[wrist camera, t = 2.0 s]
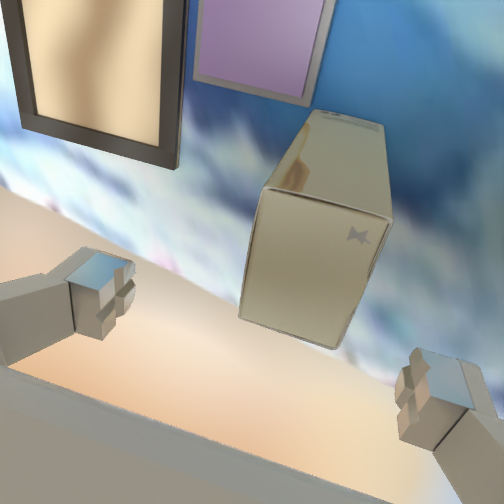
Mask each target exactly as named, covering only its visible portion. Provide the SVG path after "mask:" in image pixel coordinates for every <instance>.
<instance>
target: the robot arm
mask: <svg viewBox="0 0 504 504" xmlns="http://www.w3.org/2000/svg"><path fill="white" fill-rule="evenodd" d="M134 274H135V263H134V262H133V261H131V260H127V259H124V258H121V257H118V256H116V255H112V254H109V253H107V252H103V251H100V250H96V249H93V248H90V247H82V248H80V249H79V250H78V251H76V252H75V253H74V254H72V255H71V256H70V257H68V258H67V259H66V260H65V261H63V262H62V263H61V264H59V265H58V266H57V267H56V268H54V269H53V270H51V271H50V272H49V273H47V274H46V275H45V274H42V273H40V274H36V275H32V276H28V277H24V278H20V279H16V280H12V281H8V282H4V283H0V504H392V503H390V502H387V501H384V500H381V499H378V498H375V497H372V496H370V495H367V494H364V493H361V492H358V491H356V490H353V489H350V488H347V487H344V486H341V485H339V484H336V483H333V482H330V481H327V480H324V479H321V478H318V477H316V476H313V475H310V474H307V473H304V472H302V471H298V470H296V469H293V468H290V467H287V466H284V465H282V464H279V463H276V462H273V461H270V460H268V459H265V458H262V457H259V456H256V455H253V454H251V453H248V452H245V451H242V450H239V449H237V448H234V447H231V446H228V445H225V444H222V443H219V442H217V441H214V440H211V439H208V438H205V437H203V436H200V435H197V434H194V433H191V432H188V431H186V430H183V429H180V428H177V427H175V426H172V425H169V424H166V423H163V422H160V421H158V420H155V419H152V418H149V417H146V416H143V415H140V414H138V413H135V412H132V411H129V410H127V409H124V408H121V407H118V406H115V405H112V404H109V403H107V402H104V401H101V400H98V399H95V398H92V397H90V396H87V395H84V394H81V393H78V392H76V391H73V390H70V389H67V388H64V387H61V386H58V385H56V384H53V383H50V382H47V381H44V380H42V379H39V378H36V377H33V376H30V375H28V374H25V373H22V372H19V371H16V370H13V369H10V368H8V367H7V366H9V365H11V364H13V363H15V362H18V361H20V360H22V359H24V358H26V357H28V356H30V355H32V354H34V353H36V352H38V351H40V350H42V349H44V348H46V347H48V346H50V345H52V344H54V343H57V342H58V341H61V340H63V339H65V338H67V337H69V336H71V335H73V334H74V332H75V333H78V334H82V335H85V336H88V337H92V338H95V339H99V340H102V341H103V339H104V338H105V337H106V336H107V335H108V333H109V332H110V331H111V330H112V329H113V328H114V326H115V325H116V318H117V317H120V316H122V315H124V314H125V313H126V312H127V310H128V309H129V308H130V306H131V304H132V302H133V300H134V296H135V284H134V282H133V281H132V279H131V278H132V276H133V275H134ZM409 359H410V365H409V366H407V367H404V368H402V370H401V372H400V374H399V376H398V378H397V382H396V385H395V402H396V404H397V405H398V406H399V408H400V409H401V411H400V413H399V414H398V416H397V421H398V432H399V439H400V440H401V441H404V442H407V443H410V444H412V445H415V446H418V447H421V448H423V449H427V450H429V451H432V452H433V455H434V457H435V459H436V460H437V462H438V464H439V465H440V467H441V469H442V470H443V472H444V474H445V475H446V477H447V479H448V480H449V482H450V483H451V485H452V487H453V489H454V490H455V492H456V493H457V495H458V497H459V498H460V500H461V502H462V503H463V504H504V420H502V419H499V418H498V416H497V413H496V410H495V408H494V405H493V402H492V399H491V397H490V394H489V391H488V389H487V386H486V383H485V381H484V378H483V375H482V373H481V370H480V368H479V367H478V366H477V365H476V364H474V363H470V362H466V361H463V360H459V359H454V358H451V357H447V356H444V355H441V354H437V353H434V352H431V351H427V350H424V349H421V348H416V349H415V350H413V352H412V353H411V355H410V357H409Z"/></svg>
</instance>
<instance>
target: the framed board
mask: <svg viewBox="0 0 504 504" xmlns="http://www.w3.org/2000/svg"><path fill="white" fill-rule="evenodd" d="M0 2H1V8H2V14H3V19H4V25H5V31H6V37H7V43H8V49H9V55H10V60H11V66H12V72H13V78H14V84H15V90H16V96H17V101H18V107H19V113H20V119H21V125H22V128H23V129H27V130H30V131H34V132H38V133H41V134H45V135H48V136H52V137H56V138H59V139H63V140H66V141H70V142H73V143H77V144H81V145H84V146H88V147H91V148H95V149H99V150H102V151H106V152H109V153H113V154H117V155H120V156H124V157H127V158H131V159H135V160H138V161H142V162H145V163H149V164H152V165H156V166H160V167H163V168H167V169H170V170H175V169H177V168H178V164H179V148H180V133H181V117H182V101H183V86H184V70H185V55H186V39H187V23H188V8H189V0H0Z"/></svg>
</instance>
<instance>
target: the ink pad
mask: <svg viewBox="0 0 504 504" xmlns="http://www.w3.org/2000/svg"><path fill="white" fill-rule="evenodd" d="M336 4H337V0H199V7H198V20H197V33H196V46H195V59H194V72H193V80H196V81H200V82H204V83H208V84H212V85H216V86H220V87H225V88H229V89H233V90H237V91H241V92H245V93H249V94H254V95H258V96H262V97H266V98H270V99H274V100H279V101H283V102H287V103H291V104H295V105H299V106H303V107H308V108H309V107H310V106H311V104H312V100H313V96H314V92H315V88H316V84H317V80H318V76H319V72H320V68H321V64H322V60H323V56H324V52H325V48H326V44H327V40H328V36H329V32H330V28H331V24H332V20H333V16H334V12H335V8H336Z"/></svg>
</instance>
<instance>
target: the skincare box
mask: <svg viewBox="0 0 504 504" xmlns="http://www.w3.org/2000/svg"><path fill="white" fill-rule="evenodd" d="M393 220H394V219H393V212H392V201H391V191H390V181H389V172H388V163H387V153H386V144H385V133H384V126H383V125H382V124H378V123H375V122H371V121H367V120H364V119H360V118H356V117H352V116H348V115H344V114H339V113H335V112H330V111H325V110H319V109H314V110H312V112H311V114H310V115H309V117H308V118H307V120H306V122H305V123H304V125H303V126H302V128H301V129H300V131H299V133H298V134H297V136H296V137H295V139H294V140H293V142H292V144H291V145H290V147H289V148H288V150H287V151H286V153H285V155H284V156H283V158H282V159H281V161H280V163H279V164H278V165H277V167H276V169H275V170H274V172H273V173H272V175H271V176H270V178H269V179H268V181H267V182H266V184H265V185H264V186H263V188H262V190H261V194H260V198H259V201H258V205H257V209H256V213H255V217H254V222H253V226H252V231H251V236H250V242H249V247H248V253H247V259H246V264H245V270H244V276H243V283H242V290H241V297H240V305H239V313H238V317H239V318H240V319H242V320H245V321H248V322H251V323H254V324H257V325H260V326H263V327H265V328H268V329H271V330H274V331H277V332H279V333H283V334H286V335H289V336H292V337H295V338H297V339H300V340H303V341H306V342H309V343H312V344H315V345H318V346H321V347H324V348H327V349H330V350H336V349H338V348H339V347H340V344H341V342H342V340H343V338H344V336H345V333H346V331H347V329H348V327H349V324H350V322H351V320H352V318H353V315H354V313H355V310H356V308H357V306H358V304H359V302H360V300H361V297H362V295H363V293H364V290H365V288H366V285H367V283H368V281H369V278H370V276H371V273H372V271H373V269H374V266H375V264H376V262H377V260H378V257H379V255H380V252H381V250H382V248H383V246H384V243H385V240H386V238H387V236H388V233H389V231H390V229H391V227H392V224H393Z"/></svg>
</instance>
